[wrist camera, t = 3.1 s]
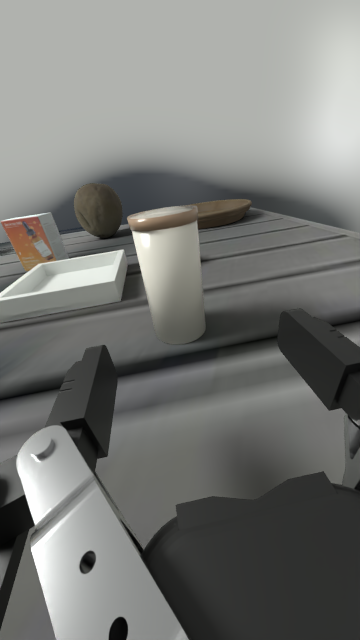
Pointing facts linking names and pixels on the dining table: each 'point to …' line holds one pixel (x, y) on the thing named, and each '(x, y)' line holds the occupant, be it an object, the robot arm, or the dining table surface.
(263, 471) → the dining table surface
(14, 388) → the dining table surface
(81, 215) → the cantaloupe
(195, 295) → the canister
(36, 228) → the small box
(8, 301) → the tray
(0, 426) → the dining table surface
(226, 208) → the plant saucer
